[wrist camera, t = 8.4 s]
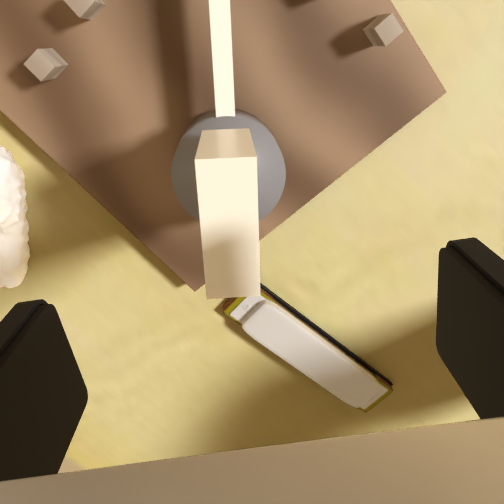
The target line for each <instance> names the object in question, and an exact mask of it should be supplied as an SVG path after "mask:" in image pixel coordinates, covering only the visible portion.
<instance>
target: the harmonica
mask: <svg viewBox="0 0 504 504" xmlns="http://www.w3.org/2000/svg"><path fill="white" fill-rule="evenodd" d="M260 294H261V296H251V297H232V298H230V299H229V300H228V301H227V302H226V303H225V304H224V306H223V313H225V314H226V315H227V316H228V317H230V318H231V319H233V320H234V321H235V322H237V323H238V324H240V325H241V326H242V328H243V330H244V331H245V332H246V333H247V334H248V335H249V336H250V337H252V338H253V339H254V340H256V341H257V342H259V343H260V344H261V345H263V346H264V347H266V348H267V349H269V350H270V351H271V352H273V353H274V354H276V355H277V356H279V357H280V358H281V359H283V360H284V361H286V362H287V363H289V364H290V365H292V366H293V367H294V368H296V369H297V370H299V371H300V372H302V373H303V374H304V375H306V376H307V377H309V378H310V379H312V380H313V381H315V382H316V383H317V384H319V385H320V386H322V387H323V388H325V389H326V390H327V391H329V392H330V393H332V394H333V395H335V396H336V397H337V398H339V399H340V400H342V401H343V402H345V403H346V404H348V405H350V406H352V407H355V408H360V409H361V410H363V411H364V412H367V411H369V410H370V409H371V408H372V407H374V406H375V405H376V404H377V403H379V402H380V401H381V400H382V399H384V398H385V397H386V396H387V395H389V394H390V393H391V392H392V391H393V389H392V387H391V386H392V385H393V384H392V383H391V382H390V381H389V380H388V379H387V378H385V377H384V376H383V375H381V374H380V373H379V372H377V371H376V370H375V369H373V368H372V367H371V366H370V365H368V364H367V363H366V362H364V361H363V360H362V359H360V358H359V357H358V356H356V355H355V354H354V353H352V352H351V351H350V350H348V349H347V348H346V347H344V346H343V345H342V344H340V343H339V342H338V341H336V340H335V339H334V338H333V337H331V336H330V335H329V334H327V333H326V332H325V331H323V330H322V329H321V328H319V327H318V326H317V325H315V324H314V323H313V322H311V321H310V320H309V319H307V318H306V317H305V316H303V315H302V314H301V313H299V312H298V311H297V310H296V309H294V308H293V307H292V306H290V305H289V304H288V303H286V302H285V301H284V300H282V299H281V298H280V297H278V296H277V295H276V294H274V293H273V292H272V291H270V290H269V289H268V288H266V287H265V286H264V285H262V284H261V283H260Z"/></svg>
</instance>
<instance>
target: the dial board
mask: <svg viewBox="0 0 504 504" xmlns="http://www.w3.org/2000/svg"><path fill="white" fill-rule="evenodd" d="M230 13H231V35H232V57H233V79H234V101H235V109H240V110H243V111H246V112H249V113H251V114H253V115H254V116H256V117H257V118H259V119H260V120H261V121H262V122H264V124H265V125H266V126H267V127H268V128H269V130H270V131H271V133H272V134H273V136H274V138H275V140H276V142H277V144H278V146H279V148H280V150H281V152H282V155H283V158H284V162H285V168H286V179H285V186H284V190H283V192H282V195H281V197H280V199H279V201H278V203H277V204H276V206H275V207H274V208H273V210H272V211H271V212H270V213H269V214H268V215H267V216H265V217H264V218H263V219H261V220H260V221H259V240H261V239H262V238H263V237H265V236H266V235H267V234H268V233H270V232H271V231H272V230H273V229H275V228H276V227H277V226H278V225H280V224H281V223H282V222H283V221H285V220H286V219H287V218H288V217H290V216H291V215H292V214H294V213H295V212H296V211H297V210H299V209H300V208H301V207H302V206H304V205H305V204H306V203H307V202H309V201H310V200H311V199H312V198H314V197H315V196H316V195H317V194H319V193H320V192H321V191H323V190H324V189H325V188H326V187H328V186H329V185H330V184H331V183H333V182H334V181H335V180H336V179H338V178H339V177H340V176H341V175H343V174H344V173H345V172H346V171H348V170H349V169H350V168H352V167H353V166H354V165H355V164H357V163H358V162H359V161H360V160H362V159H363V158H364V157H365V156H367V155H368V154H369V153H370V152H372V151H373V150H374V149H375V148H377V147H378V146H379V145H381V144H382V143H383V142H384V141H386V140H387V139H388V138H389V137H391V136H392V135H393V134H394V133H396V132H397V131H398V130H399V129H401V128H402V127H403V126H404V125H406V124H407V123H408V122H410V121H411V120H412V119H413V118H415V117H416V116H417V115H418V114H420V113H421V112H422V111H423V110H425V109H426V108H427V107H428V106H430V105H431V104H432V103H433V102H435V101H436V100H437V99H439V98H440V97H441V96H442V95H444V94H445V93H446V90H445V89H444V87H443V85H442V84H441V82H440V81H439V79H438V77H437V76H436V74H435V72H434V71H433V69H432V67H431V66H430V64H429V63H428V61H427V59H426V58H425V56H424V54H423V53H422V51H421V49H420V48H419V46H418V45H417V43H416V41H415V40H414V38H413V36H412V35H411V33H410V31H409V30H408V28H407V27H406V25H405V23H404V22H403V20H402V18H401V17H400V15H399V13H398V12H397V10H396V9H395V7H394V5H393V4H392V2H391V0H230ZM0 110H1V111H2V112H3V113H4V114H5V115H6V116H7V117H8V118H9V119H10V120H11V121H12V122H13V123H14V124H16V125H17V126H18V127H19V128H20V129H21V130H22V131H23V132H24V133H25V134H26V135H27V136H28V137H29V138H31V139H32V140H33V141H34V142H35V143H36V144H37V145H38V146H39V147H40V148H41V149H42V150H43V151H44V152H46V153H47V154H48V155H49V156H50V157H51V158H52V159H53V160H54V161H55V162H56V163H57V164H58V165H59V166H61V167H62V168H63V169H64V170H65V171H66V172H67V173H68V174H69V175H70V176H71V177H72V178H73V179H75V180H76V181H77V182H78V183H79V184H80V185H81V186H82V187H83V188H84V189H85V190H86V191H87V192H88V193H90V194H91V195H92V196H93V197H94V198H95V199H96V200H97V201H98V202H99V203H100V204H101V205H102V206H103V207H105V208H106V209H107V210H108V211H109V212H110V213H111V214H112V215H113V216H114V217H115V218H116V219H117V220H118V221H120V222H121V223H122V224H123V225H124V226H125V227H126V228H127V229H128V230H129V231H130V232H131V233H132V234H133V235H135V236H136V237H137V238H138V239H139V240H140V241H141V242H142V243H143V244H144V245H145V246H146V247H147V248H148V249H150V250H151V251H152V252H153V253H154V254H155V255H156V256H157V257H158V258H159V259H160V260H161V261H162V262H164V263H165V264H166V265H167V266H168V267H169V268H170V269H171V270H172V271H173V272H174V273H175V274H176V275H177V276H179V277H180V278H181V279H182V280H183V281H184V282H185V283H186V284H187V285H188V286H189V287H190V288H191V289H192V290H194V291H196V290H198V289H199V288H200V287H202V286H203V285H204V284H205V274H204V263H203V251H202V240H201V228H200V222H199V221H198V220H196V219H195V218H193V217H192V216H191V215H190V214H189V213H188V212H187V211H186V210H185V209H184V208H183V207H182V205H181V204H180V202H179V201H178V199H177V197H176V195H175V192H174V189H173V186H172V180H171V166H172V161H173V157H174V154H175V151H176V149H177V147H178V145H179V142H180V140H181V138H182V136H183V134H184V132H185V131H186V129H187V128H188V127H189V125H190V124H191V123H192V122H193V121H194V120H196V119H197V118H198V117H199V116H201V115H203V114H205V113H207V112H209V111H212V110H216V108H215V92H214V76H213V61H212V45H211V29H210V13H209V0H0Z"/></svg>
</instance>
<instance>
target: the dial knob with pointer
mask: <svg viewBox="0 0 504 504" xmlns="http://www.w3.org/2000/svg"><path fill="white" fill-rule="evenodd" d="M209 13H210V29H211V45H212V61H213V76H214V92H215V108H216V110H212V111H209V112H207V113H205V114H203V115H201V116H199V117H198V118H197V119H196V120H194V121H193V122H192V123H191V124H190V125H189V127H188V128H187V129H186V131H185V132H184V134H183V136H182V138H181V140H180V142H179V145H178V147H177V149H176V151H175V154H174V157H173V161H172V166H171V180H172V186H173V189H174V192H175V195H176V197H177V199H178V201H179V202H180V204H181V205H182V207H183V208H184V209H185V210H186V211H187V212H188V213H189V214H190V215H191V216H192V217H193V218H195V219H196V220H198V221H199V222H200V228H201V240H202V251H203V263H204V274H205V286H206V298H207V299H214V298H232V297H251V296H261V294H260V256H259V221H260V220H261V219H263V218H264V217H265V216H267V215H268V214H269V213H270V212H271V211H272V210H273V208H274V207H275V206H276V204H277V203H278V201H279V199H280V197H281V195H282V192H283V190H284V186H285V179H286V168H285V162H284V158H283V155H282V152H281V150H280V148H279V146H278V144H277V142H276V140H275V138H274V136H273V134H272V133H271V131H270V130H269V128H268V127H267V126H266V125H265V124H264V122H262V121H261V120H260V119H259V118H257V117H256V116H254V115H253V114H251V113H249V112H246V111H243V110H240V109H235V101H234V79H233V57H232V35H231V13H230V0H209Z"/></svg>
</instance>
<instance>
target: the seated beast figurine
mask: <svg viewBox="0 0 504 504" xmlns="http://www.w3.org/2000/svg"><path fill="white" fill-rule="evenodd" d="M24 188H25V181H24V173H23V171H22V170H21V168H20V167H19V166H18V164H17V163H16V161H15V160H14V158H13V156H12V153H11V152H10V151H9V150H7V149H5V148H4V147H2V146H0V287H3V286H6V287H7V288H13V287H16V286H18V285H20V284H21V283H22V281H23V279H24V277H25V275H26V272H27V269H28V265H27V263H28V260H29V258H30V256H31V254H30V248H29V245H28V243H27V242H28V241H29V239H30V238H29V236H28V231H29V223H28V221H27V219H26V216H25V214H26V212H27V209H28V206H27V205H26V199H25V197H26V196H27V192H26V191H25V189H24Z"/></svg>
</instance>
